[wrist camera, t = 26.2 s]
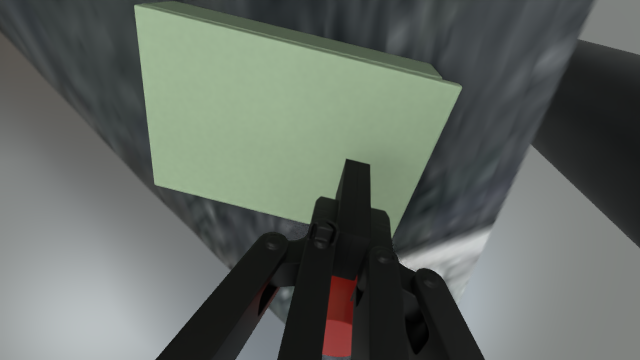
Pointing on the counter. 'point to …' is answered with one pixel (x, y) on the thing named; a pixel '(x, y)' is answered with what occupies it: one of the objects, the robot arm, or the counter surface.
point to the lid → (280, 117)
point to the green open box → (300, 38)
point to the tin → (339, 318)
